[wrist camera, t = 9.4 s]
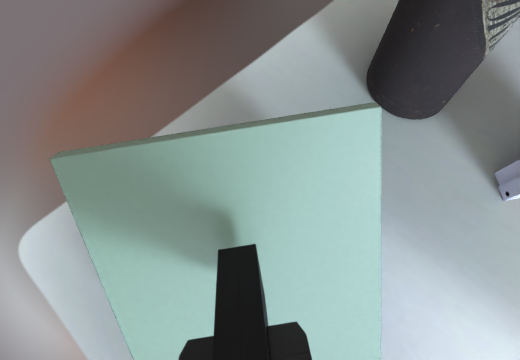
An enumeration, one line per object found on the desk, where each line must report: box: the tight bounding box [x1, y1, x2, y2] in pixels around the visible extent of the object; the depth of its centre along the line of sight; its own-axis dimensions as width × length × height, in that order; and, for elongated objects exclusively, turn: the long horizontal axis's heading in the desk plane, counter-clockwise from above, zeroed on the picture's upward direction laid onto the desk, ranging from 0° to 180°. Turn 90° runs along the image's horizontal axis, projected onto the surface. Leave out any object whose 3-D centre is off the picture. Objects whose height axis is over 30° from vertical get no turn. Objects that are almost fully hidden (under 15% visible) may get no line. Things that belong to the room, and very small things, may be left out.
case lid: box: [50, 103, 381, 360], centre depth 17 cm, size 16×13×1 cm
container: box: [367, 0, 520, 119], centre depth 26 cm, size 9×9×20 cm
